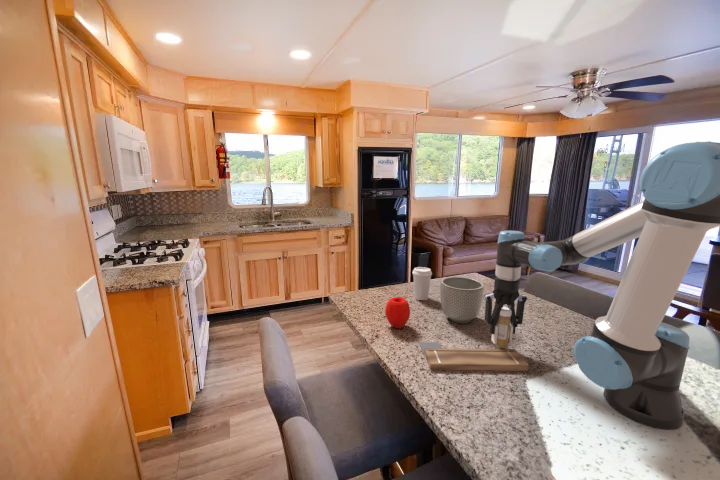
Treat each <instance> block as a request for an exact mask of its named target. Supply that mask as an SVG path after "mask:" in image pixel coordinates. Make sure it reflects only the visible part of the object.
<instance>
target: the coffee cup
mask: <svg viewBox="0 0 720 480" xmlns="http://www.w3.org/2000/svg"><path fill="white" fill-rule="evenodd" d="M432 276H433V272H432V269H431V268H429V267H425V266H424V267H423V266H417V267H414V268H413V269H412V277H413V293H414V295H413V296H414V300H416V299H417V300H416V301H419V300H425V301H428V299H429V293H430V285H431V279H432Z"/></svg>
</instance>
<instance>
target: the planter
mask: <svg viewBox="0 0 720 480" xmlns="http://www.w3.org/2000/svg"><path fill="white" fill-rule="evenodd" d="M439 292H440V293H439V294H440V295H439V297H440V306H441V310H442V312H443V313H444V315H446V316H447V317H448V319H449V320H450V321H452V322H453V323H457V324H467V323H469V322H471V320H474V319H476V318H477V316H479V315H480V312H481V308H482V306H483V305H482V303H483V301H484V295H485V294H484V293H485V285H484V283H483V282H481V281H480V280H477V279H474V278H470V277H466V276H449V277H444V278H442V279H440V284H439Z"/></svg>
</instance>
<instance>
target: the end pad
mask: <svg viewBox="0 0 720 480" xmlns="http://www.w3.org/2000/svg"><path fill="white" fill-rule="evenodd" d="M418 344H419V346H420V349H421V351H422V354H424V355H425V348H442V346H441V344H440V342H438V341H437V342H433V341H431V342H430V341H429V342H427V341H425V342H424V341H421V342H418Z"/></svg>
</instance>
